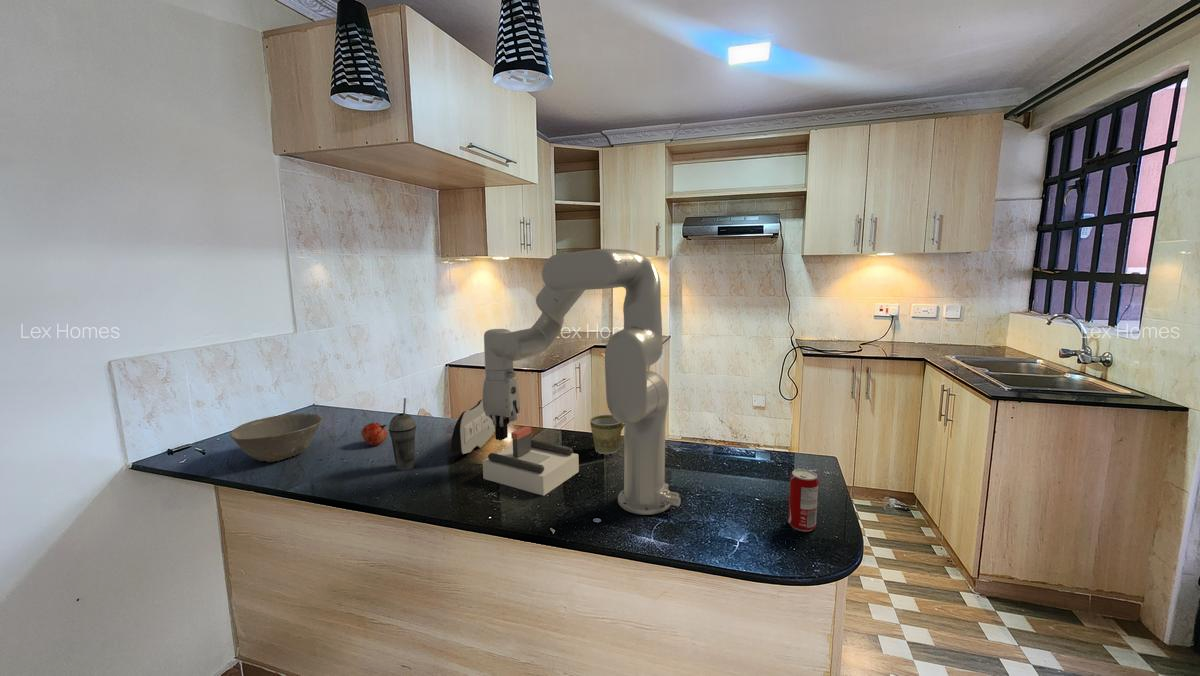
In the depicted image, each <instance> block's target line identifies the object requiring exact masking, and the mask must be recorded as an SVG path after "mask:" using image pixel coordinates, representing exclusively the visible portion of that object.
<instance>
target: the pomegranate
mask: <svg viewBox="0 0 1200 676" xmlns="http://www.w3.org/2000/svg"><path fill="white" fill-rule="evenodd" d="M385 427H389V426H388V425H387V424H381V423H378V422H377V423H376V422H370V423H368V424H366V425H364V427H363V428H362V430H361V432H360V434H361V436H362V437H363V440H364V442H363V443H364V444H365V443H368V444H369V445H370V446H379V445H380V444H381V443H383V442H384V441H385V440H386V439H387V437H388V431H387V428H385Z"/></svg>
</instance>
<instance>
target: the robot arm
mask: <svg viewBox="0 0 1200 676" xmlns="http://www.w3.org/2000/svg"><path fill="white" fill-rule="evenodd" d="M541 271H542V272H541V278H542V280H543V283H544V286H543V287H542V288H541V290H540V291H539V292H538V294H537V295H536V298H535V303H536V306H537V307H538V309H539V310H540V311H541V314H540V316H539V317H538V319H537V320H536V321H535V322H534V323H533V325H532V326H531V327H530V328H525V329H521V330H515V331H511V330H510V329H507V328H494V329H488V330H486V331H485V332H484V334H483V349H484V350H483V351H484V375H485V377H484V380H483V385H482V386H483V388H482V399H483V410H484V411H485V415H486V416H488V417H490V418H491V419H492V421H493V425H494V426H495V431H494V433H495V434H494V435H495V440H497V441H503V440H505V439H507V438H508V436H509V435H508V432H509V431H508V425H510V423H511V422H516V421H517V420H518V414H519V413H520V412H521V402H520V393H519V387H518V386H519V385H518V383H517V380H516V378H515V377H516V375H517V374H516V372H514V362H517V361H520V360H523V359H527V358H531V357H535V356H537V355H541V354H542V353H544V352H545V351H547V349H549V347H550V346H551V345H552V343H553V342H554V341H555V339H556V338H557V337H558V336H559V335H560V333H561V331H562V328H563V325H564V321H565V320H564V318H565V316H566V315H567V314H568V312H569V311H570V310H571V308H572V307H573V306H574V305H575V303H577V302H578V300H579V298H581V296H582V295H583V294H584V293H585V291H589V290H605V289H616V288H624V289H625V297H624V300H623V301H624V302H623V308H622V311H623V312H622V313H623V328H622V329H621V330H618V331H617V332H615V333H613V335H612V336H611V337H609V340H608V341H607V343H606V347H605V351H604V374H605V375H604V376H605V377H604V378H605V379H604V380H605V397H606V404H607V407H608V411H609V413H610V415H612V416H613V417H614V418H615V419H616V420H617V421H619V422H621V423H623V424H625V426H624V427H623V429H624V430H623V431H624V432H623V436H624V438H623V459H624V460H623V467H624V468H623V470H624V471H623V475H624V476H623V477H624V478H623V480H624V481H623V482H624V483H623V484H624V485H623V487H624V488H623V490H621V491H620V492H619V493H618V495H617V504H618V505H619V506H620V508H622V509H623V510H624V511H626V512H629V513H630V514H631V513H632V514H635V515H641V516H643V515H645V516H646V515H647V516H648V515H649V516H650V515H657V514H660V513H663V512H665V511H667V510H668V509H669V508H670V507H671V505H672V506H675V507H680V505H681V502H682V500H681V499H682V498H681V497H680V493H678V492H674V491H671V490H670V489H669V483H666V482H665V476H666V475H665V474H666V473H665V471H666V470H665V467H666V466H665V464H666V463H665V462H666V460H665V459H666V444H665V443H666V425H667V424H666V423H667V420H666V419H667V412H668V405H669V388H668V385H667V382H666V381H665V379H664V377H662V376H661V375H660V374H659V373H658V372H655V371H651V370H648V367H650V366H652V365H654V364H656V362H658V361H659V360H660V359H661V356H662V354H663V327H662V326H663V323H662V318H663V317H662V303H661V302H662V301H661V300H662V297H661V296H662V293H661V290H662V289H661V278H660V274H659V272H658V270H657V268H656V266H655V265H654V263H653V261H651V260H650V259H649V258H647V257H646V256H645V255H643V254H641V253H638V252H637V251H633V250H628V249H619V248H617V249H616V248H614V249H613V248H597V249H588V250H580V251H574V252H573V251H571V252H562V253H561V252H560V253H555V254H554V255H551V256H550V257H549V258H548V259H547V260H546V261H545V262H544V264H543V267H542V270H541Z"/></svg>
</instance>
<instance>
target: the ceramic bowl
mask: <svg viewBox="0 0 1200 676" xmlns="http://www.w3.org/2000/svg"><path fill="white" fill-rule="evenodd" d="M322 421H323V418H322V417H321V416H320V415H318V414H315V413H296V414H295V413H291V414H290V413H289V414H279V415H273V416H268V417H263V418H260V419H255V420H251V421H248V422H246V423H243V424H240V425H239V426H237V427H235V428H233V430H232V431H231V432H230V438H231V439H232V440H233V441H235V443H236V444H237V446H239V448H240V449H241V450H242V451H243V452H244V453H245V454H246V455H248V456H250V458H253V459H255V460H257V461H260V462H263V461H266V462H265V463H276V462H275V461H277V462H280V461H279V460H282V461H284V460H283V459H285V460H287V459H286V458H288V459H290V458H293V457H296V456H297V455H300V454H301V453H303V452H304V451H305V450H307V448H308V447H309V446H310V443H311V441H312V439H313V437H314V435H315V433H316V431H317V430H318V428H319V427H320V425H321V424H322ZM299 453H300V454H299ZM292 456H293V457H292ZM289 457H290V458H289Z"/></svg>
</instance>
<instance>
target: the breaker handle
mask: <svg viewBox="0 0 1200 676" xmlns="http://www.w3.org/2000/svg"><path fill="white" fill-rule="evenodd" d="M531 434H532V427H531V426H526V425H525V426H522V427H521V428H519V429H517V430H515V431H512V432H510V435H511V437H510V439H512V446H513V456H514V457H520V456H522V455H523V454H525V453H527V452H529V451H531V439H532V438H531Z"/></svg>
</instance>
